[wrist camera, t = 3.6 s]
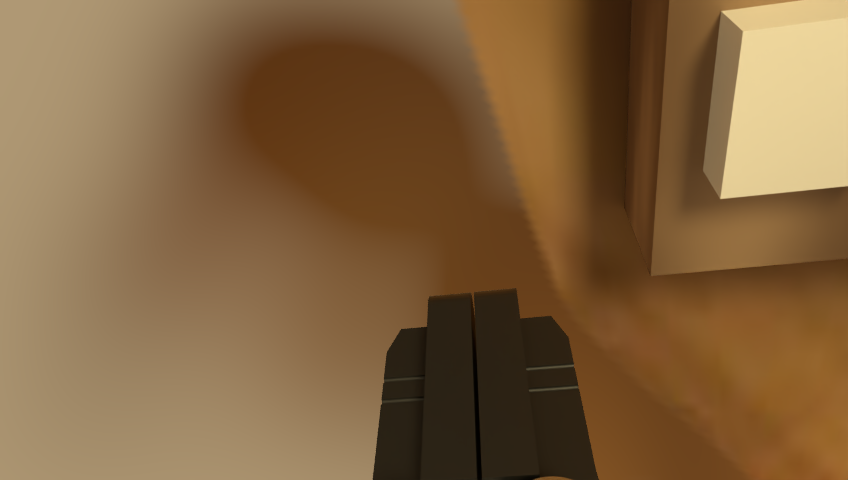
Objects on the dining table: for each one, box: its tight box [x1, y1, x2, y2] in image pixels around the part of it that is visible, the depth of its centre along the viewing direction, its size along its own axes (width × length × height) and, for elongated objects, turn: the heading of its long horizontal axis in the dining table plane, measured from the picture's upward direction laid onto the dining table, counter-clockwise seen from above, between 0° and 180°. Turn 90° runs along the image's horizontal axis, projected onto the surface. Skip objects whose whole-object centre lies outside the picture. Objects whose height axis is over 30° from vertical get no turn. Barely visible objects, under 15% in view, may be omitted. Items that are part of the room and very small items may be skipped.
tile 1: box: [703, 0, 848, 199], centre depth 16 cm, size 4×4×2 cm
